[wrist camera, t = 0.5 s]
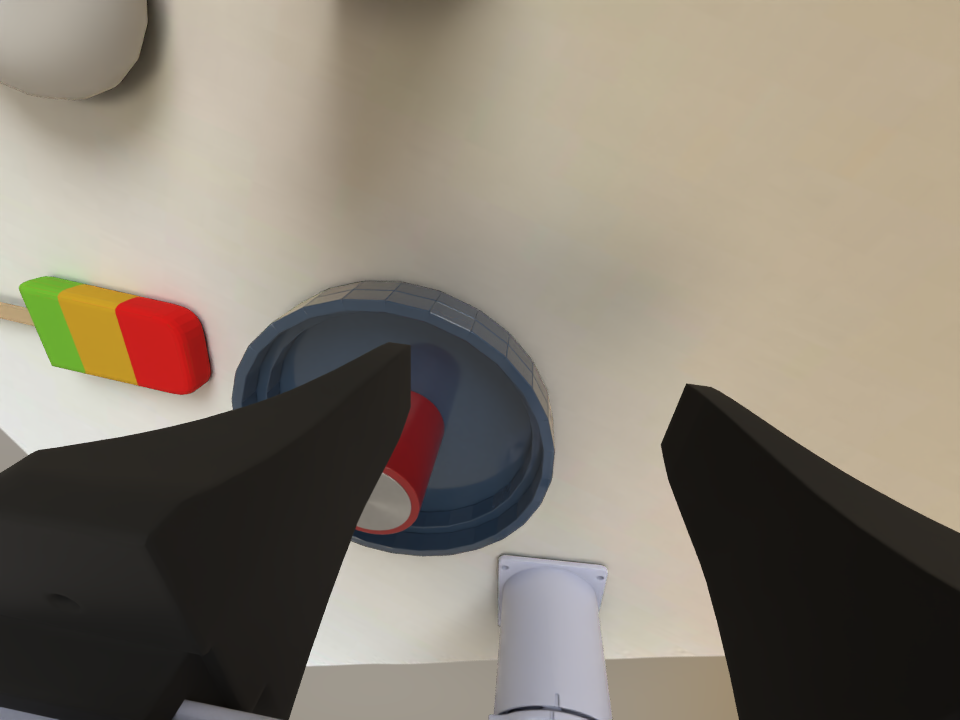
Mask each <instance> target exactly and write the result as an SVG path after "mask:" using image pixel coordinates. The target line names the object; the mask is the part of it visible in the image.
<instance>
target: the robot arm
mask: <svg viewBox="0 0 960 720" xmlns="http://www.w3.org/2000/svg"><path fill="white" fill-rule="evenodd" d="M410 408H411V345H407V344H399V343H392V342H388V343H385V344H383V345H381V346H379V347H377V348H375V349H373V350H371V351H369V352H367V353H365V354H364V355H362V356H360V357H358V358H356V359H354V360H352V361H350V362H348V363H347V364H345V365H343V366H341V367H339V368H337V369H335V370H333V371H331V372H329V373H327V374H324V375H322V376H320V377H318V378H316V379H314V380H312V381H310V382H307V383H305V384H303V385H301V386H299V387H296V388H294V389H292V390H289V391H287V392H284V393H282V394H279V395H276V396H274V397H271V398H268V399H265V400H263V401H260V402H257V403H254V404H251V405H248V406H245V407H241V408H238V409H235V410H231V411H228V412H224V413H221V414H218V415H214V416H211V417H207V418H204V419H200V420H196V421H192V422H188V423H184V424H180V425H176V426H172V427H167V428H163V429H158V430H153V431H149V432H144V433H139V434H134V435H129V436H124V437H118V438H112V439H106V440H100V441H94V442H88V443H82V444H76V445H69V446H63V447H57V448H50V449H43V450H38V451H35V452H33V453H31V454H30V455H28V456H27V457H25V458H23V459H22V460H20V461H19V462H17V463H16V464H14V465H12V466H11V467H9V468H7V469H6V470H4V471H3V472H1V473H0V720H289V717H290V714H291V710H292V707H293V704H294V701H295V698H296V695H297V692H298V689H299V686H300V683H301V680H302V676H303V674H304V670H305V667H306V664H307V661H308V658H309V655H310V652H311V649H312V646H313V643H314V640H315V638H316V635H317V632H318V629H319V626H320V623H321V620H322V617H323V614H324V612H325V609H326V606H327V603H328V600H329V597H330V595H331V592H332V589H333V586H334V584H335V581H336V578H337V576H338V573H339V570H340V567H341V565H342V562H343V559H344V557H345V554H346V551H347V549H348V546H349V544H350V541H351V539H352V536H353V533H354V531H355V528H356V526H357V523H358V521H359V519H360V516H361V514H362V512H363V510H364V508H365V506H366V504H367V502H368V500H369V498H370V496H371V494H372V492H373V490H374V488H375V486H376V484H377V482H378V480H379V478H380V476H381V474H382V473H383V471H384V469H385V467H386V465H387V463H388V461H389V459H390V457H391V455H392V453H393V451H394V449H395V447H396V445H397V443H398V441H399V439H400V437H401V434H402V431H403V428H404V426H405V423H406V420H407V417H408V414H409V411H410ZM661 448H662V453H663V458H664V463H665V468H666V472H667V476H668V480H669V483H670V486H671V488H672V491H673V494H674V496H675V499H676V502H677V504H678V507H679V510H680V512H681V515H682V517H683V520H684V523H685V525H686V528H687V530H688V533H689V536H690V538H691V541H692V543H693V546H694V549H695V551H696V554H697V556H698V559H699V562H700V564H701V567H702V570H703V573H704V576H705V579H706V582H707V586H708V590H709V594H710V597H711V601H712V605H713V608H714V612H715V616H716V620H717V623H718V627H719V631H720V636H721V640H722V644H723V648H724V652H725V657H726V661H727V665H728V669H729V673H730V678H731V683H732V687H733V693H734V697H735V702H736V707H737V712H738V716H739V720H960V533H958V532H956V531H954V530H952V529H950V528H948V527H946V526H944V525H942V524H940V523H938V522H936V521H934V520H932V519H930V518H928V517H926V516H924V515H922V514H920V513H918V512H916V511H914V510H912V509H910V508H908V507H906V506H904V505H902V504H900V503H899V502H897V501H895V500H893V499H891V498H889V497H888V496H886V495H884V494H882V493H880V492H879V491H877V490H875V489H873V488H871V487H869V486H868V485H866V484H864V483H862V482H860V481H859V480H857V479H855V478H853V477H852V476H850V475H848V474H847V473H845V472H843V471H842V470H840V469H838V468H837V467H835V466H833V465H832V464H830V463H829V462H827V461H825V460H824V459H822V458H821V457H819V456H817V455H816V454H814V453H812V452H811V451H809V450H808V449H806V448H805V447H803V446H802V445H800V444H798V443H797V442H795V441H794V440H792V439H791V438H789V437H788V436H786V435H785V434H783V433H782V432H780V431H779V430H777V429H776V428H774V427H773V426H771V425H770V424H768V423H767V422H766V421H764V420H763V419H761V418H760V417H758V416H757V415H755V414H754V413H752V412H751V411H749V410H748V409H746V408H745V407H743V406H742V405H740V404H739V403H737V402H736V401H734V400H733V399H731V398H730V397H728V396H726V395H725V394H723V393H721V392H720V391H718V390H716V389H714V388H712V387H707V386H700V385H693V384H686V386H685V388H684V390H683V393H682V395H681V398H680V400H679V402H678V405H677V407H676V410H675V412H674V414H673V417H672V419H671V422H670V424H669V426H668V429H667V431H666V433H665V436H664V438H663V441H662V443H661ZM607 576H608V571H607V568H606V567H605V566H603V565H597V564H588V563H578V562H568V561H559V560H549V559H540V558H530V557H521V556H511V555H502V556H500V557H499V562H498V625H499V626H500V640H499V653H498V668H497V681H496V693H495V694H496V695H495V707H494V714H490V715H489V719H488V720H613V719H612V712H611V704H610V696H609V688H608V681H607V674H606V666H605V658H604V650H603V642H602V635H601V627H600V619H599V610H600V606H601V601H602V597H603V593H604V589H605V584H606V580H607Z"/></svg>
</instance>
